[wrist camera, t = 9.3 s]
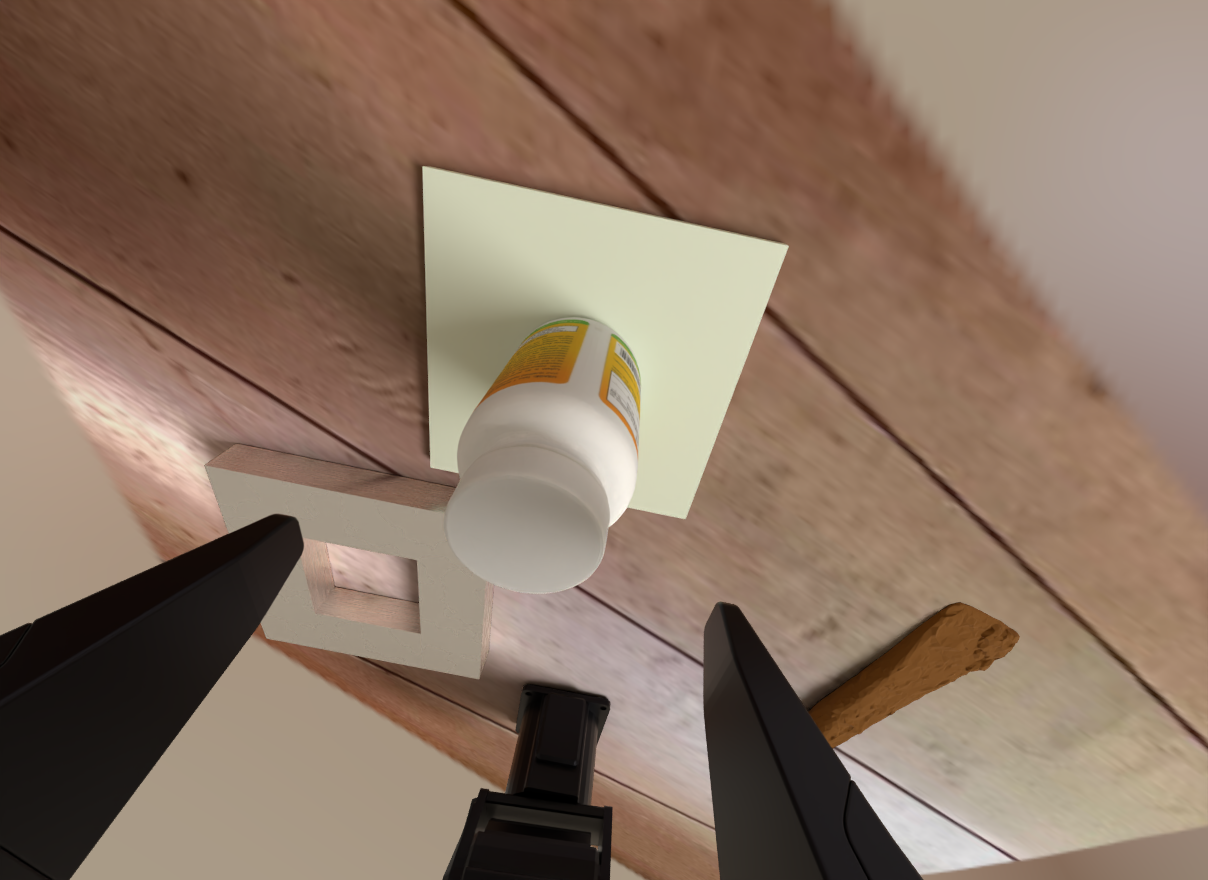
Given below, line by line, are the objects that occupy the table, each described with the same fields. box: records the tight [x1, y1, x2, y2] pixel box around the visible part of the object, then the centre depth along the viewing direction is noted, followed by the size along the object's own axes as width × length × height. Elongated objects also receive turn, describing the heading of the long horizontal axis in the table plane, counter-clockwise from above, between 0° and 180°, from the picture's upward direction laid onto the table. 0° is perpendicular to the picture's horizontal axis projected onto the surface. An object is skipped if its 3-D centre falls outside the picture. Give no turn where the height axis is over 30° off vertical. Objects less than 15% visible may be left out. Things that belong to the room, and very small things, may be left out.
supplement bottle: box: [444, 317, 641, 594], centre depth 15 cm, size 5×5×10 cm
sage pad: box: [422, 166, 789, 519], centre depth 19 cm, size 13×13×1 cm
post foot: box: [204, 444, 494, 679], centre depth 26 cm, size 14×14×2 cm
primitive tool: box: [808, 602, 1020, 748], centre depth 29 cm, size 19×6×4 cm, turn 152°
